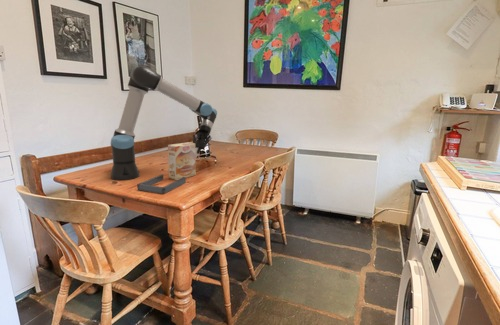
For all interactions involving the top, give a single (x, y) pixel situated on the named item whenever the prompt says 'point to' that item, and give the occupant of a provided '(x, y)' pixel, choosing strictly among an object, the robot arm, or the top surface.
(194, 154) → the coffeecake box
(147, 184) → the dock
